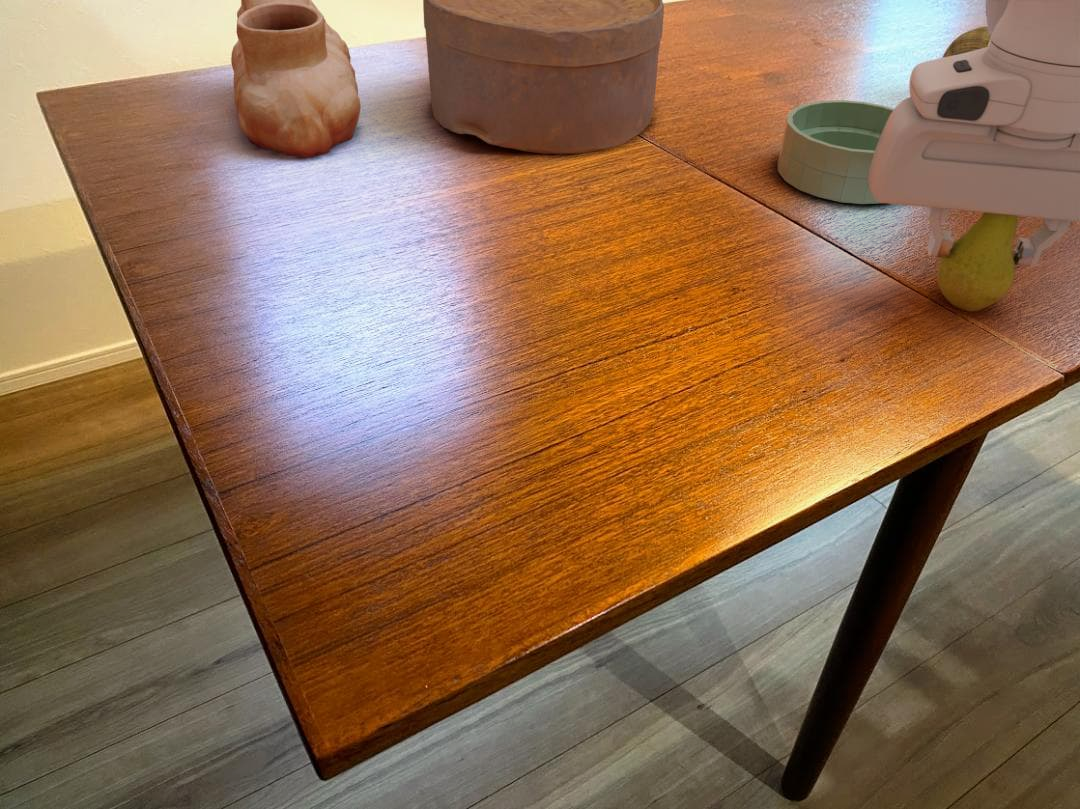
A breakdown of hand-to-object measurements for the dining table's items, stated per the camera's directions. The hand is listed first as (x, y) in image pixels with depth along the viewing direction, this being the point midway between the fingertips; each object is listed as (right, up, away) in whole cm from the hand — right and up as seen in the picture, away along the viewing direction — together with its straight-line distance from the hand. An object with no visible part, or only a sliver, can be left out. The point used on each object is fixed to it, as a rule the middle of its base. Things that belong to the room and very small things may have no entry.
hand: (979, 258), depth 72 cm
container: (-36, +23, +36) cm, 56 cm away
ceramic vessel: (-65, +22, +33) cm, 76 cm away
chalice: (+19, +25, +39) cm, 50 cm away
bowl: (-3, +12, +22) cm, 26 cm away
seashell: (+24, +34, +50) cm, 65 cm away
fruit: (0, -4, +3) cm, 5 cm away
